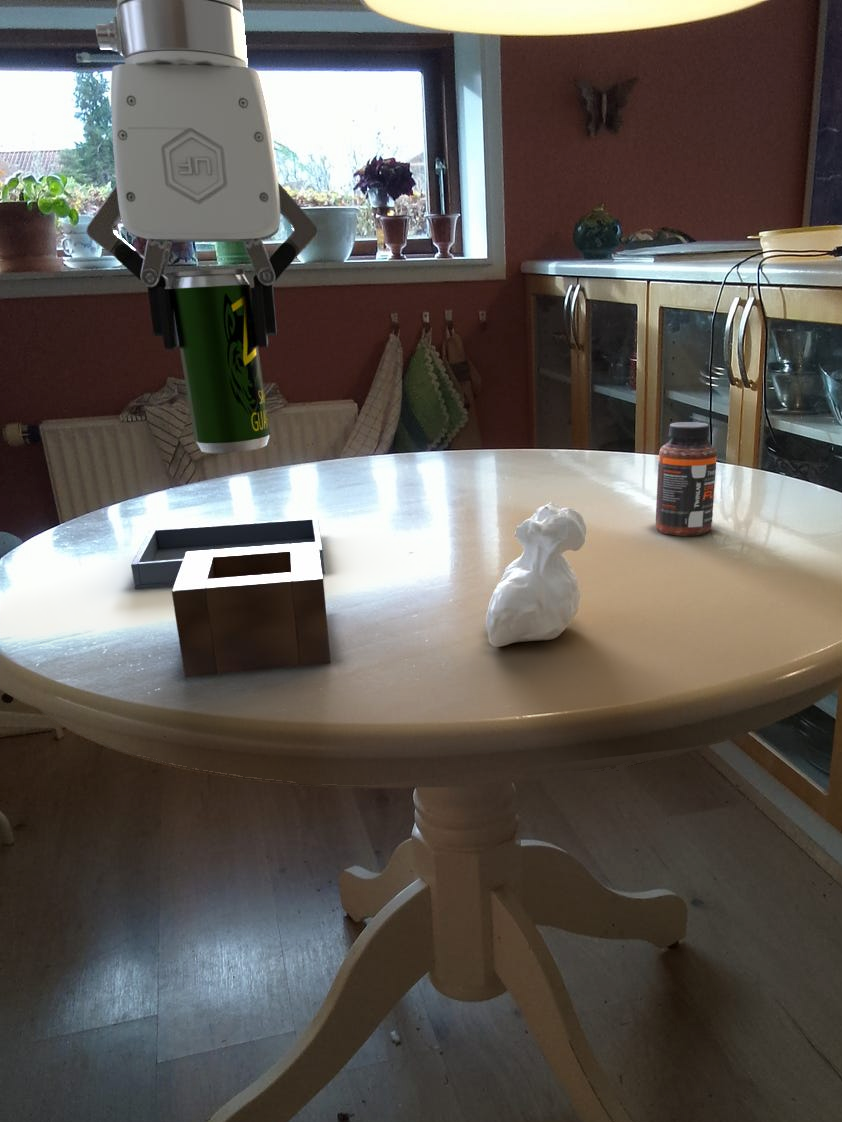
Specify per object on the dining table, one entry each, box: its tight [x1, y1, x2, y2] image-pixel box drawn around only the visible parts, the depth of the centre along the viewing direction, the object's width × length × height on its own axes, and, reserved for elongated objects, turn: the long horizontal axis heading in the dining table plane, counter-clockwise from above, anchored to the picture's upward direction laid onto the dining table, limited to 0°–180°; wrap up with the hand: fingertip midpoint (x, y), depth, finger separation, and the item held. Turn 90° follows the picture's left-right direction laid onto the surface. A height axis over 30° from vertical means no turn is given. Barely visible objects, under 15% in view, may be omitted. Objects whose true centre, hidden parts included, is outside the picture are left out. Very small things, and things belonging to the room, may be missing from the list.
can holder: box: [171, 542, 332, 678], centre depth 69 cm, size 10×10×6 cm
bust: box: [485, 501, 587, 648], centre depth 69 cm, size 12×8×11 cm
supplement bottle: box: [655, 421, 718, 537], centre depth 97 cm, size 6×6×11 cm
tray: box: [130, 517, 326, 590], centre depth 91 cm, size 17×13×2 cm
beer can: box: [169, 268, 271, 454], centre depth 65 cm, size 5×5×12 cm
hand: (217, 344), depth 65 cm, fingers closed on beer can, 5 cm apart
